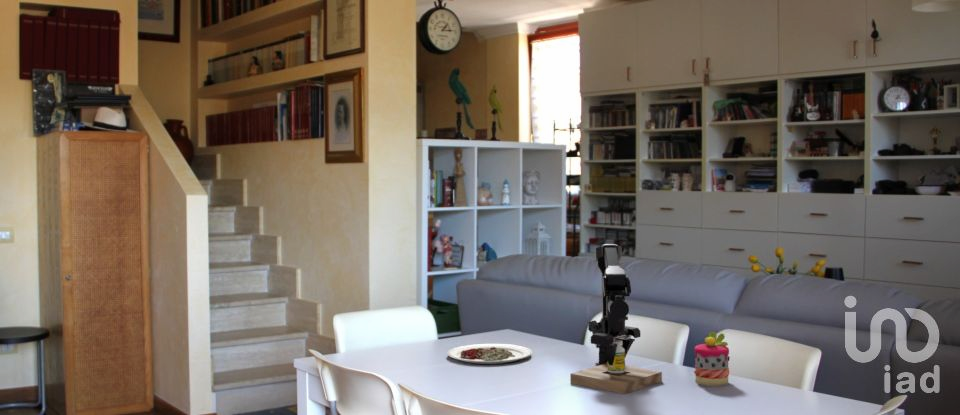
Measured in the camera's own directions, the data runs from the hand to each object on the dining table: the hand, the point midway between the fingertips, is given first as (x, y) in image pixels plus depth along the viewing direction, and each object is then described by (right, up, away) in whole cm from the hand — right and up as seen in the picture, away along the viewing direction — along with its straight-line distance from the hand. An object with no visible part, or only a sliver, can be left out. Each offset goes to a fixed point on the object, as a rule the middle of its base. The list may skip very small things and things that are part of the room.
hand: (616, 363), depth 269 cm
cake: (+29, -6, -2) cm, 30 cm away
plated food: (-39, -5, +41) cm, 56 cm away
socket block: (0, -6, 0) cm, 6 cm away
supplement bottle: (0, -3, 0) cm, 3 cm away
